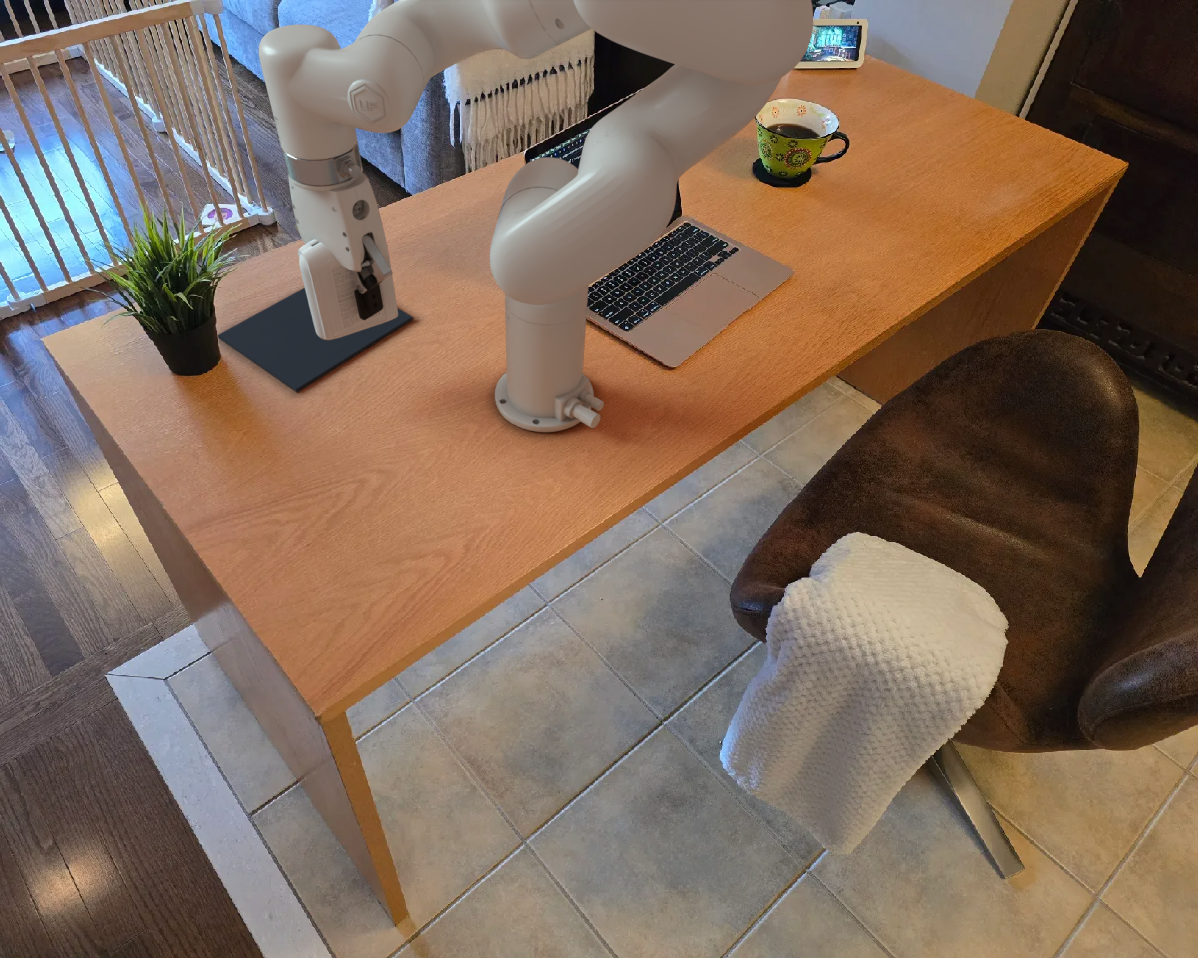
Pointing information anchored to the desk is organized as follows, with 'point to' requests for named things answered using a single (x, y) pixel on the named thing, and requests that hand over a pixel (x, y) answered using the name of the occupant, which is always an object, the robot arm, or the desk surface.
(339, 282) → the photo printer
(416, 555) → the desk surface
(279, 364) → the desk mat
